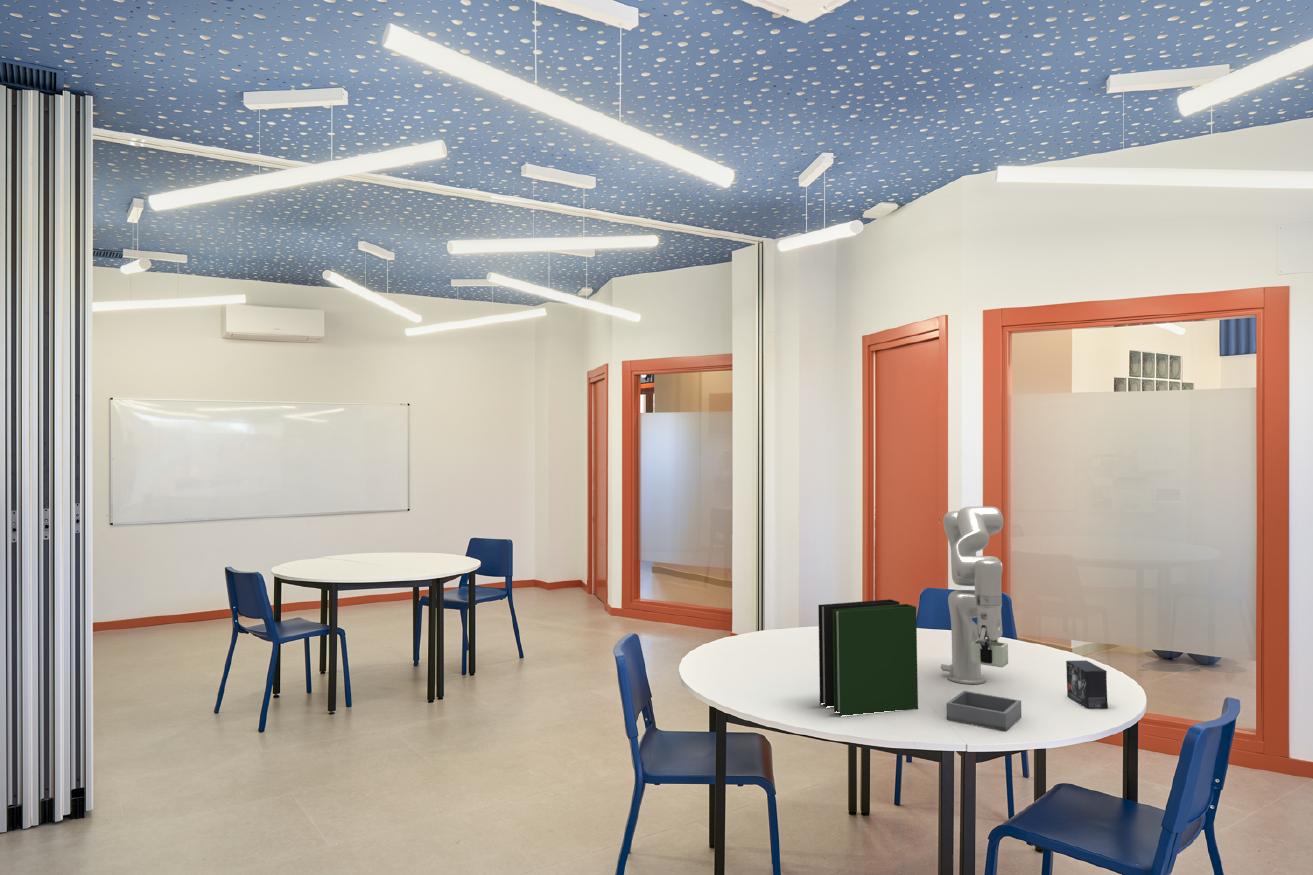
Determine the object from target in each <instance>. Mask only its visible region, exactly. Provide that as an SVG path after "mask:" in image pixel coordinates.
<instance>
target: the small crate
mask: <svg viewBox="0 0 1313 875" xmlns="http://www.w3.org/2000/svg"><path fill="white" fill-rule="evenodd" d="M986 642H987V643H988V641H986ZM991 650H992V663H991V664H990V663H983V662H981V659H980V640H975V641H974V642H972V643H971V662H972V663H974V664H981V666H983V665H984V666H989V667H996V668H1004V667H1005V666H1007V665H1009V643H1007V642H1006V643H1005V642H1001V641H998V642H992V641H991Z"/></svg>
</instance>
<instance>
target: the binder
mask: <svg viewBox="0 0 1313 875" xmlns="http://www.w3.org/2000/svg"><path fill="white" fill-rule="evenodd" d="M917 624H918V623H917V606H915V605H912V604H908V603H902V604H900V601H897V600H893V599H891V598H889V599H877V600H876V599H875V600H864V601H854V602H852V601H851V602H838V603H828V604H827V603H824V604H818V662H819V663H818V666H819V667H818V668H819V669H818V670H819V704H820V703H825V705H824V708H825V707H827V706H834V708H833V713H834V712H836V711H837V712H840V713H839V717H840V716H842V715H853V714H863V713H874V712H884V711H894V712H896V711H895V710H903V711H910V710H911V711H912V710H918V709H919V691H918V690H919V688H918V687H919V686H918V684H919V682H918V639H917V638H918V637H917V633H918V632H917V629H918V628H917Z"/></svg>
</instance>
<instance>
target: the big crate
mask: <svg viewBox="0 0 1313 875" xmlns="http://www.w3.org/2000/svg"><path fill="white" fill-rule="evenodd" d="M1021 718H1022V700H1019V699H1014V698H1008V697H1003V696H996V695H992V694H991V695H989V694H984V693H980V692H973V691H967V690H963V691H962V692H960V693H959V694H957V695H956V696H954V697H953V698H951V699H950V700H949V701H947V702H946V720H947V721H950V722H957V723H962V724H966V725H971V724H973V725H972V726H976V725H977V727H981V726H982V728H988V729H992V730H997V731H1003V732H1007V731H1008V730H1009V729H1011V728H1012V727H1013V726H1014V725H1015V724H1016V723H1018V721H1019V720H1020V719H1021ZM1012 725H1013V726H1012Z"/></svg>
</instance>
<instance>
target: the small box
mask: <svg viewBox="0 0 1313 875" xmlns="http://www.w3.org/2000/svg"><path fill="white" fill-rule="evenodd" d="M1065 664H1066V690H1067V691H1066V693H1067V694H1066V695H1067V697H1068V698H1069V699H1071V700H1072V701H1074V702H1075V703H1077V704H1079V705H1080V704H1081V705H1080V706H1081V707H1083V706H1084V708H1085V709H1087V710H1089V709H1090V710H1091V709H1093V710H1094V709H1095V710H1096V709H1097V710H1098V709H1102V710H1103V709H1107V710H1108V709H1109V703H1108V687H1107V683H1108V682H1107V675H1108V674H1107V672H1108V671H1107V670H1105V669H1103V668H1102V667H1100V666H1098V665H1096V664H1094V663H1093V662H1090V661H1088V660H1087V659H1086V660H1084V659H1082V660H1066V661H1065Z"/></svg>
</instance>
